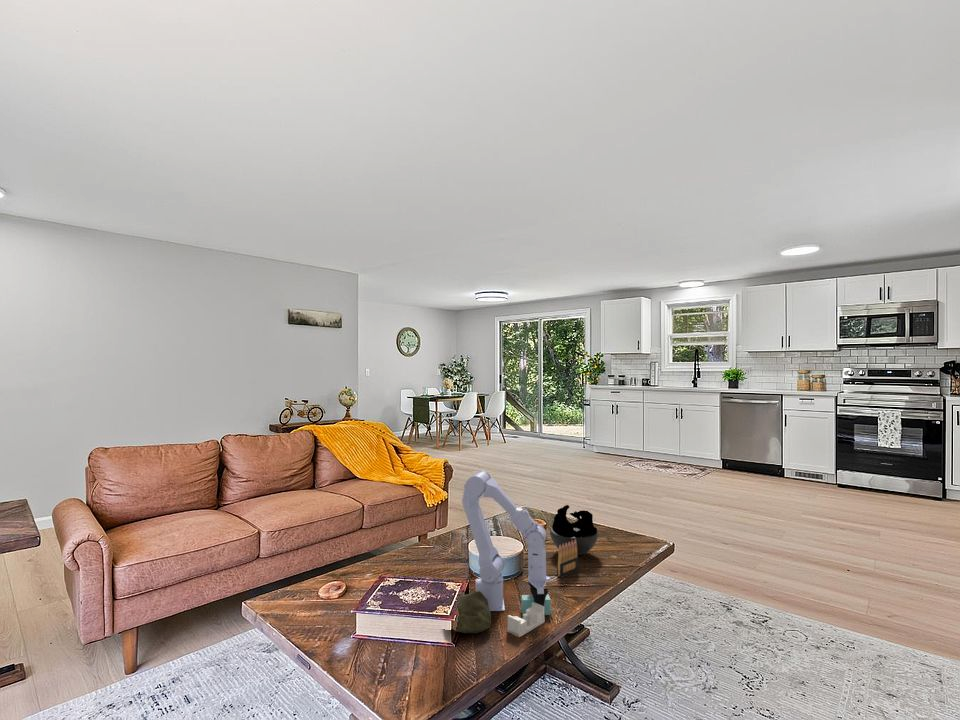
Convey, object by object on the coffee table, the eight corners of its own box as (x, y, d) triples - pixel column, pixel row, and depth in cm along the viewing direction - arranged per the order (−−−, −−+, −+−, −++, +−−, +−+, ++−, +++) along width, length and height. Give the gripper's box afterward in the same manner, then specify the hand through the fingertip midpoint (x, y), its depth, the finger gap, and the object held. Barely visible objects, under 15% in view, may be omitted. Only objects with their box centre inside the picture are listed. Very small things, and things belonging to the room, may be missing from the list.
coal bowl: (599, 564, 206) (599, 517, 206) (549, 561, 209) (549, 515, 209) (596, 546, 226) (596, 503, 226) (550, 544, 229) (550, 501, 229)
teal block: (522, 615, 166) (522, 600, 166) (521, 610, 169) (521, 595, 169) (550, 615, 166) (550, 599, 166) (548, 609, 170) (548, 594, 170)
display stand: (519, 637, 153) (519, 621, 153) (507, 631, 156) (507, 615, 156) (544, 621, 162) (544, 606, 161) (533, 616, 165) (533, 601, 165)
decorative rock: (439, 643, 152) (435, 610, 152) (450, 613, 168) (446, 583, 167) (489, 642, 150) (486, 608, 150) (495, 611, 166) (492, 581, 165)
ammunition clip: (560, 577, 194) (560, 545, 194) (556, 576, 196) (556, 544, 196) (578, 570, 201) (578, 539, 201) (574, 568, 203) (574, 537, 203)
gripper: (553, 573, 160) (554, 617, 160) (546, 555, 175) (547, 596, 175) (530, 574, 160) (531, 618, 160) (525, 556, 175) (526, 596, 175)
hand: (538, 606), depth 168 cm, fingers open, 4 cm apart
